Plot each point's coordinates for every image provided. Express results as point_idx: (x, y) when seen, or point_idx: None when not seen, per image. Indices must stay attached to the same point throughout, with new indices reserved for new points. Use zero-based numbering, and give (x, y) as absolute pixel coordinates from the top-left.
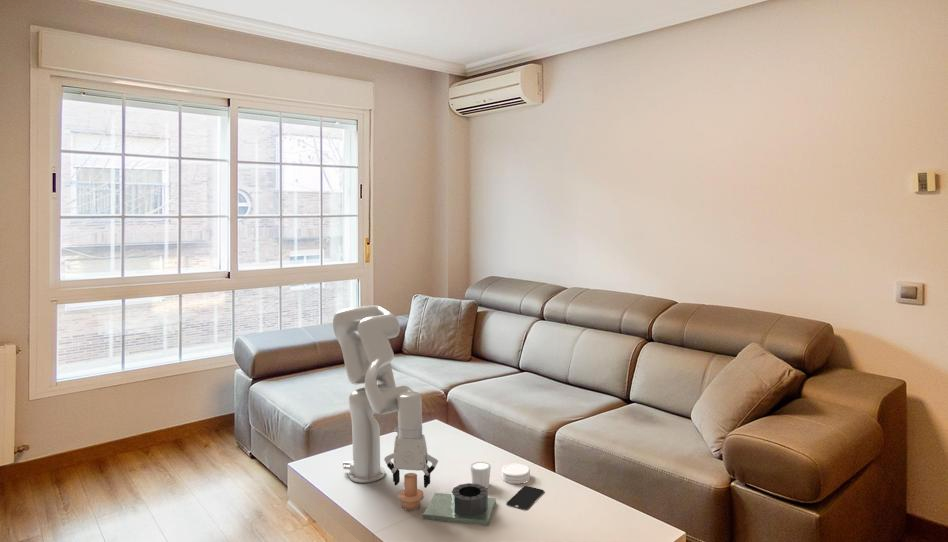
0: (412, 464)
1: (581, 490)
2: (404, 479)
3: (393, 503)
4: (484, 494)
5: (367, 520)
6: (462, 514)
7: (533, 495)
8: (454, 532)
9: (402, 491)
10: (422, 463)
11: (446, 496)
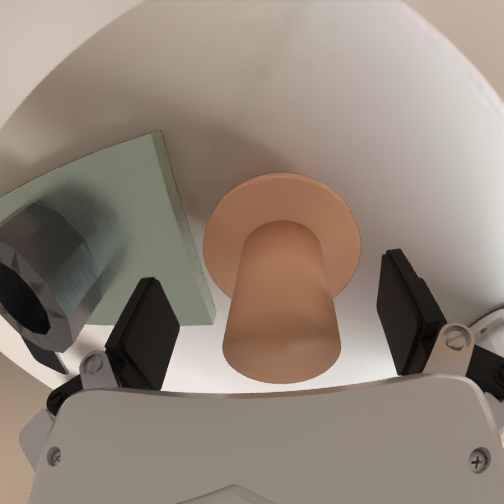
0: (159, 470)
1: (15, 360)
2: (329, 308)
3: (375, 218)
4: None
5: (425, 40)
6: (29, 204)
7: (32, 345)
8: (25, 112)
9: (344, 266)
10: (44, 450)
11: None
